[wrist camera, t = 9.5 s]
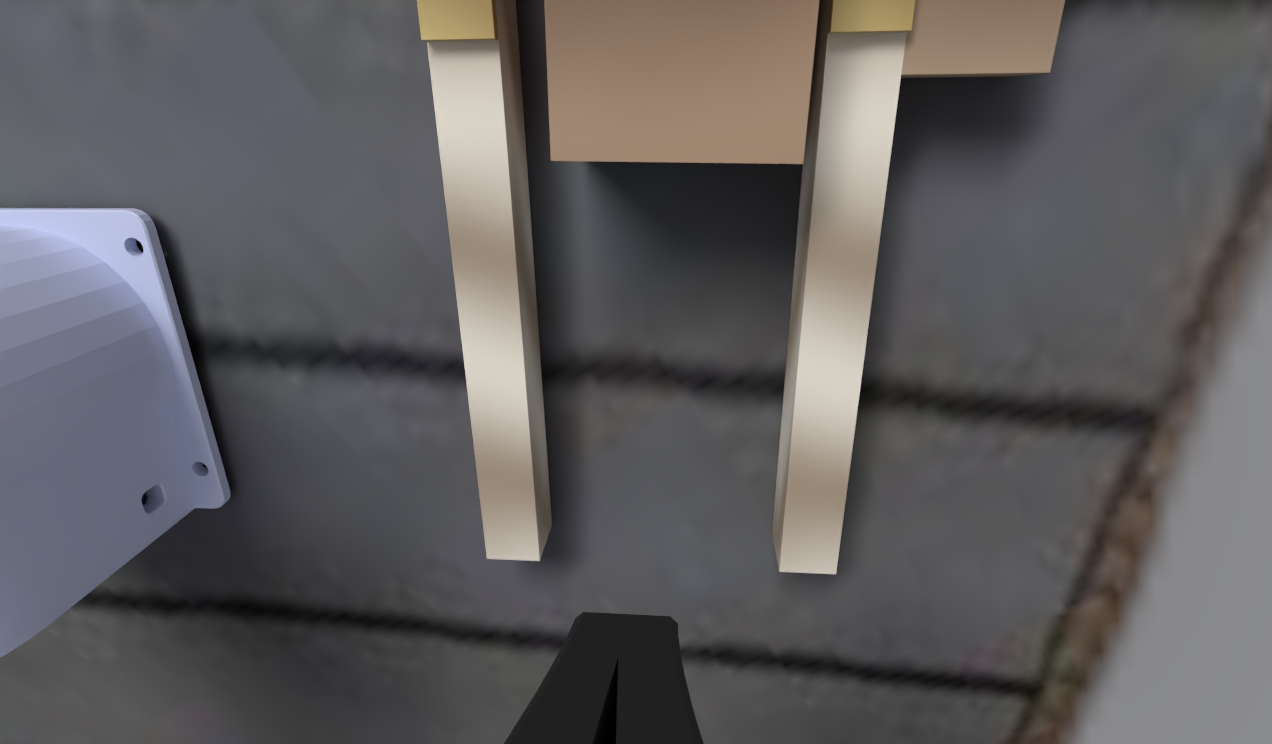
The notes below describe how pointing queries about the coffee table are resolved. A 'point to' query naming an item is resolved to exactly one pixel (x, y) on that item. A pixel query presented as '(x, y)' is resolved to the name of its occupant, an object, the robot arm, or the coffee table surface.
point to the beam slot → (824, 259)
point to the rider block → (679, 80)
